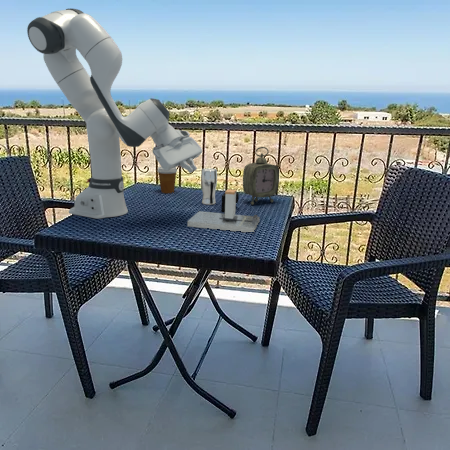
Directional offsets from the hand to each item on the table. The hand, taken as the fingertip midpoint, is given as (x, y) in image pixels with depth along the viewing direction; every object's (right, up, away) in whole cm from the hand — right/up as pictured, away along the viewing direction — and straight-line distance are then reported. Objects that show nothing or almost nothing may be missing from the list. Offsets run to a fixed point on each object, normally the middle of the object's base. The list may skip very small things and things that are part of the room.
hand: (193, 170), depth 139 cm
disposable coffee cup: (-17, -3, +52) cm, 55 cm away
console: (+11, -19, +5) cm, 23 cm away
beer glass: (+4, -10, +34) cm, 35 cm away
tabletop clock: (+26, -9, +37) cm, 47 cm away
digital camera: (+13, -13, +25) cm, 31 cm away
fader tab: (+13, -17, +3) cm, 22 cm away
